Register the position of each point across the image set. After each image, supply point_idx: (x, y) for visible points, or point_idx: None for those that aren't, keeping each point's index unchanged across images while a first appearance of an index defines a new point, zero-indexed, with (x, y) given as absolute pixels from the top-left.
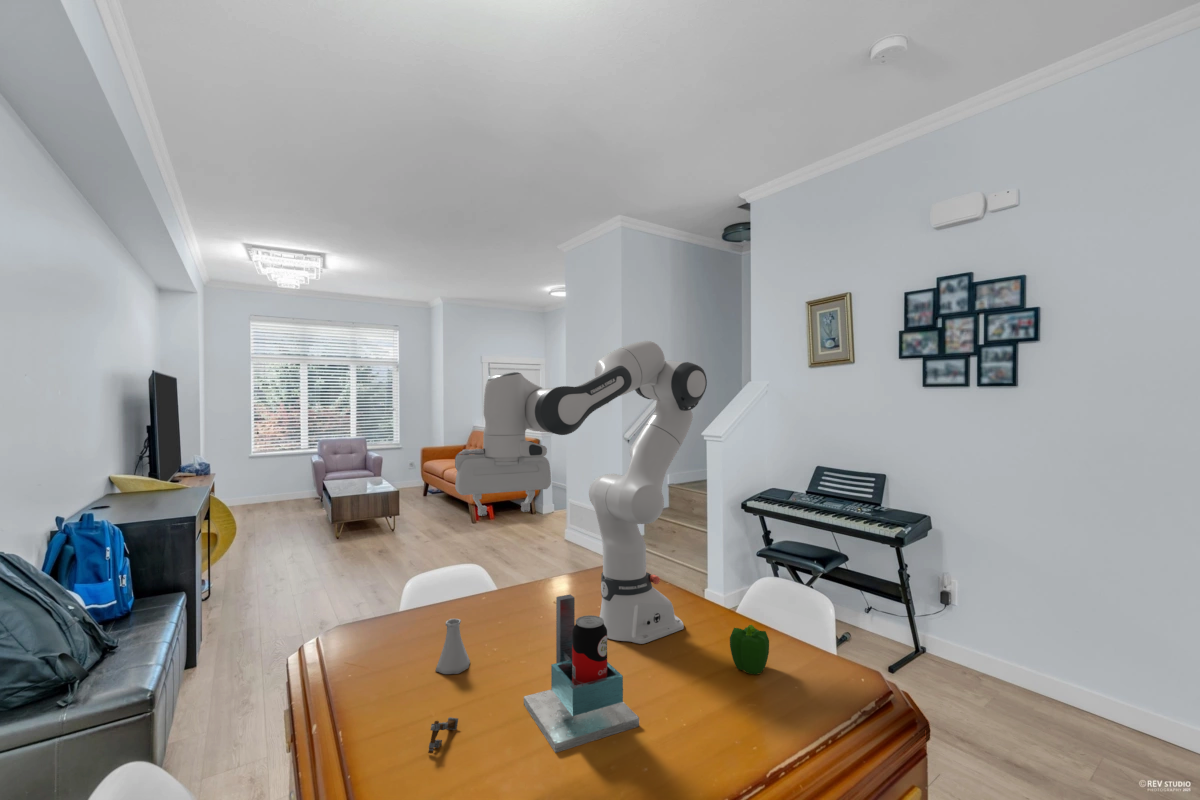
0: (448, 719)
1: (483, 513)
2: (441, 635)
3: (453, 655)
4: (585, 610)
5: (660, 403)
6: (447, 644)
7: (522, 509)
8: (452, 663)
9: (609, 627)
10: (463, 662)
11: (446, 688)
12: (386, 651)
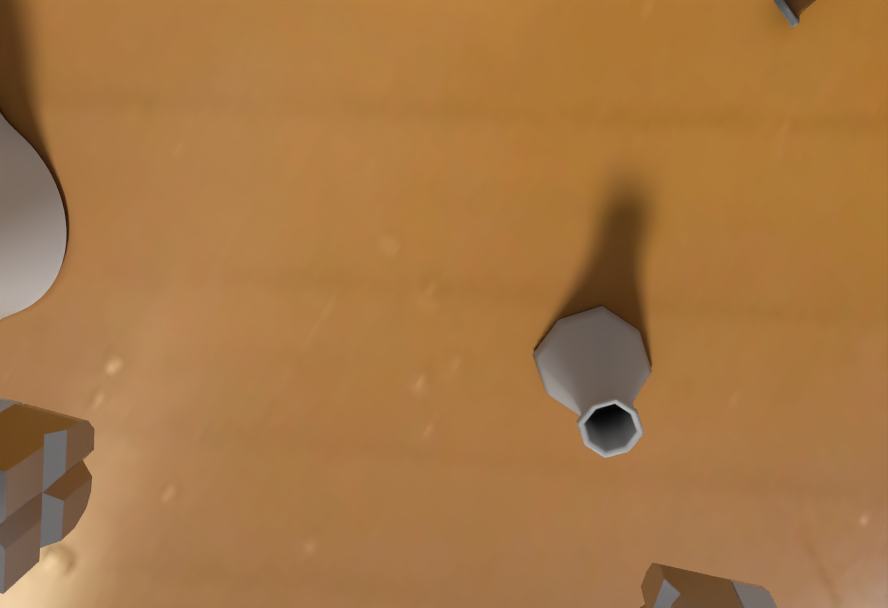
0: (798, 21)
1: (715, 582)
2: (515, 583)
3: (614, 348)
4: None
5: None
6: (629, 385)
7: (71, 478)
8: (617, 335)
9: (24, 197)
10: (577, 328)
11: (675, 248)
12: None
